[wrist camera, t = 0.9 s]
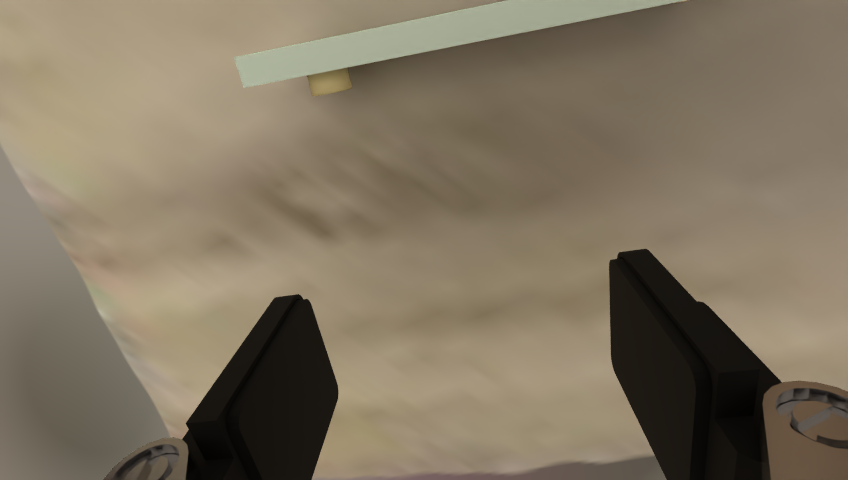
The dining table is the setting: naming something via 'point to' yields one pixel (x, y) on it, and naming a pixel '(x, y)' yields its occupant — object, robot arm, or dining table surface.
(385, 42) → the cabinet door
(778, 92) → the dining table surface
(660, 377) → the robot arm
